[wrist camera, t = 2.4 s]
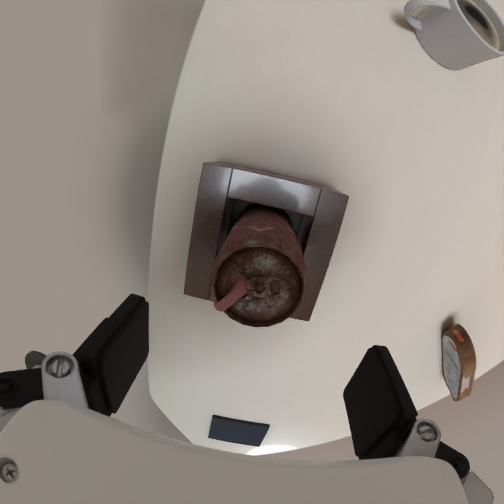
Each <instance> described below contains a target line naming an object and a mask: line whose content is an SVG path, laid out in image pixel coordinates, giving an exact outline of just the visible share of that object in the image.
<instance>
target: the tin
mask: <svg viewBox="0 0 504 504" xmlns="http://www.w3.org/2000/svg"><path fill="white" fill-rule="evenodd" d="M442 368H443V375H444V379H445V382H446V385H447V387H448V388H449V391H450V393H451V395H452V397H453V399H454V400H455V401H459V400H461V399H463V398H465V397H466V396H469V395H470V394H471V391H472V386H473V381H474V375H475V370H476V355H475V350H474V346H473V343H472V341H471V339H470V337H469V335H468V333H467V331H466V330H465V329H464V328H463V327H462V326H461V325H460V324H456V325H455V326H454V327H452V328H450V329H448V330H447V331H445V332H444V333H443V336H442Z"/></svg>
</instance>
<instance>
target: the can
mask: <svg viewBox="0 0 504 504" xmlns="http://www.w3.org/2000/svg"><path fill="white" fill-rule="evenodd" d="M210 282H211V288H212V293H213V294H214V296H215V299H216V300H215V302H214V307H215V308H216V310H218V311H224V312H225V313H226V314H227V315H228V316H229V317H230V318H231V319H233V320H235V321H237V322H239V323H241V324H243V325H248V326H252V327H269V326H272V325H275V324H278V323H281V322H283V321H284V320H286V319H287V318H289V317H290V316H291V315H293V313H294V312H295V311H296V309H297V308H298V307H299V306H300V304H301V303H302V301H303V300H304V297H305V294H306V292H307V289H308V271H307V268H306V265H305V261H304V258H303V255H302V252H301V249H300V246H299V243H298V240H297V237H296V234H295V231H294V228H293V225H292V223H291V220H290V218H289V216H288V215H287V213H286V212H285V211H284V210H283V209H278V208H274V207H270V206H265V205H261V204H253V205H251V206H248V207H247V208H246V209H245V210H244V211H242V212H241V213H240V215H239V217H238V219H237V220H236V222H235V224H234V226H233V227H232V229H231V231H230V233H229V235H228V237H227V239H226V240H225V242H224V244H223V246H222V248H221V250H220V251H219V253H218V255H217V257H216V259H215V261H214V263H213V265H212V270H211V276H210Z"/></svg>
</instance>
